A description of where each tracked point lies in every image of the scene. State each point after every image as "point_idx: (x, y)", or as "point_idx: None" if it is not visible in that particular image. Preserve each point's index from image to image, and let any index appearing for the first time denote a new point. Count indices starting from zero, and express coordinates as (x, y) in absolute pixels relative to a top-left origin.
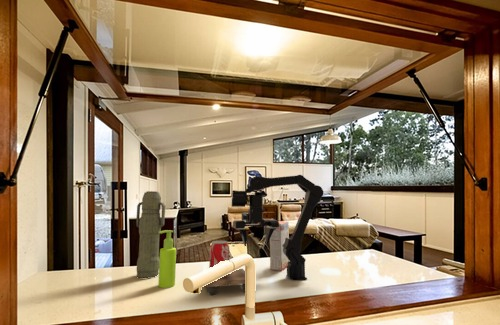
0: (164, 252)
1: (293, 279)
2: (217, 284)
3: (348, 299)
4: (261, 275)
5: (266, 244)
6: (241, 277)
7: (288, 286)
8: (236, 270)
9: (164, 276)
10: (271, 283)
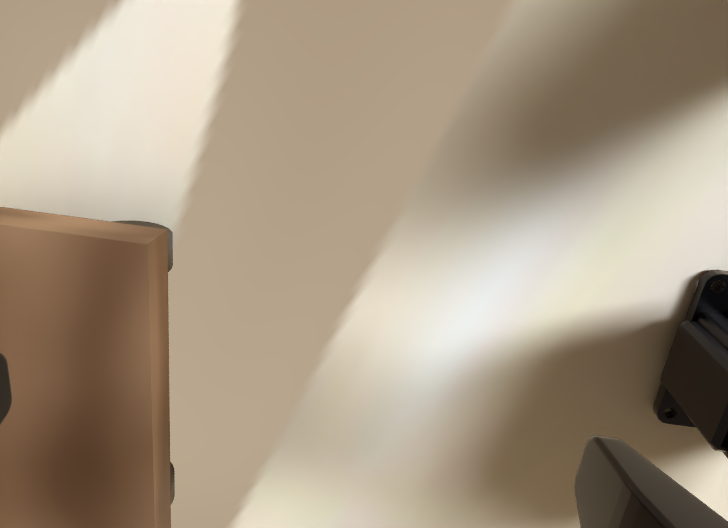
0: None
1: (662, 421)
2: None
3: None
4: (481, 101)
5: (577, 494)
6: (60, 520)
7: (511, 498)
8: (56, 290)
9: None
10: (426, 386)
